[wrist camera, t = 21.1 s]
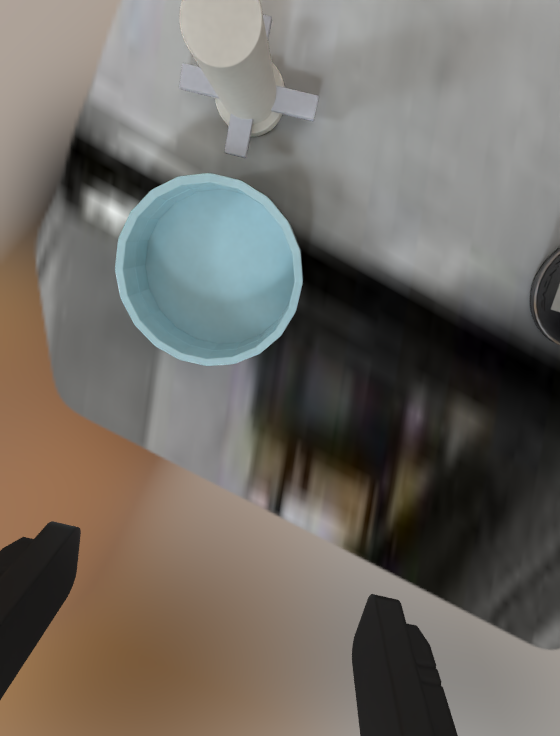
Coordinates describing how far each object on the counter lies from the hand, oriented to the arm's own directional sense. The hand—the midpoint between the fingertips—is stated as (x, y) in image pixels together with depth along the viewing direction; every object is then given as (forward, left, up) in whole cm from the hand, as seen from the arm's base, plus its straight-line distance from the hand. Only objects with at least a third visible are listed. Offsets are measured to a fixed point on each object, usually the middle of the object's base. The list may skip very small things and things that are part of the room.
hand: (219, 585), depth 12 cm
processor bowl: (+6, -5, -28) cm, 29 cm away
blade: (+6, -18, -28) cm, 34 cm away
